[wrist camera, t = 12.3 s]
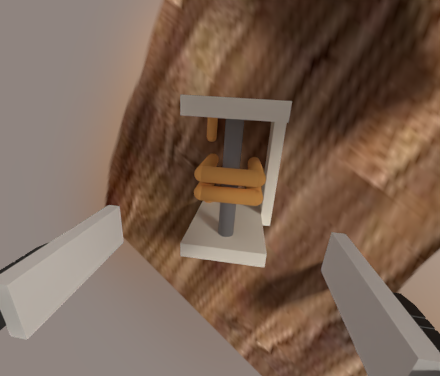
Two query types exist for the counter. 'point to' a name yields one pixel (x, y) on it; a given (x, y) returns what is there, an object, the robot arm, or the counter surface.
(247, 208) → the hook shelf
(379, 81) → the counter surface
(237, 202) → the cord hank
